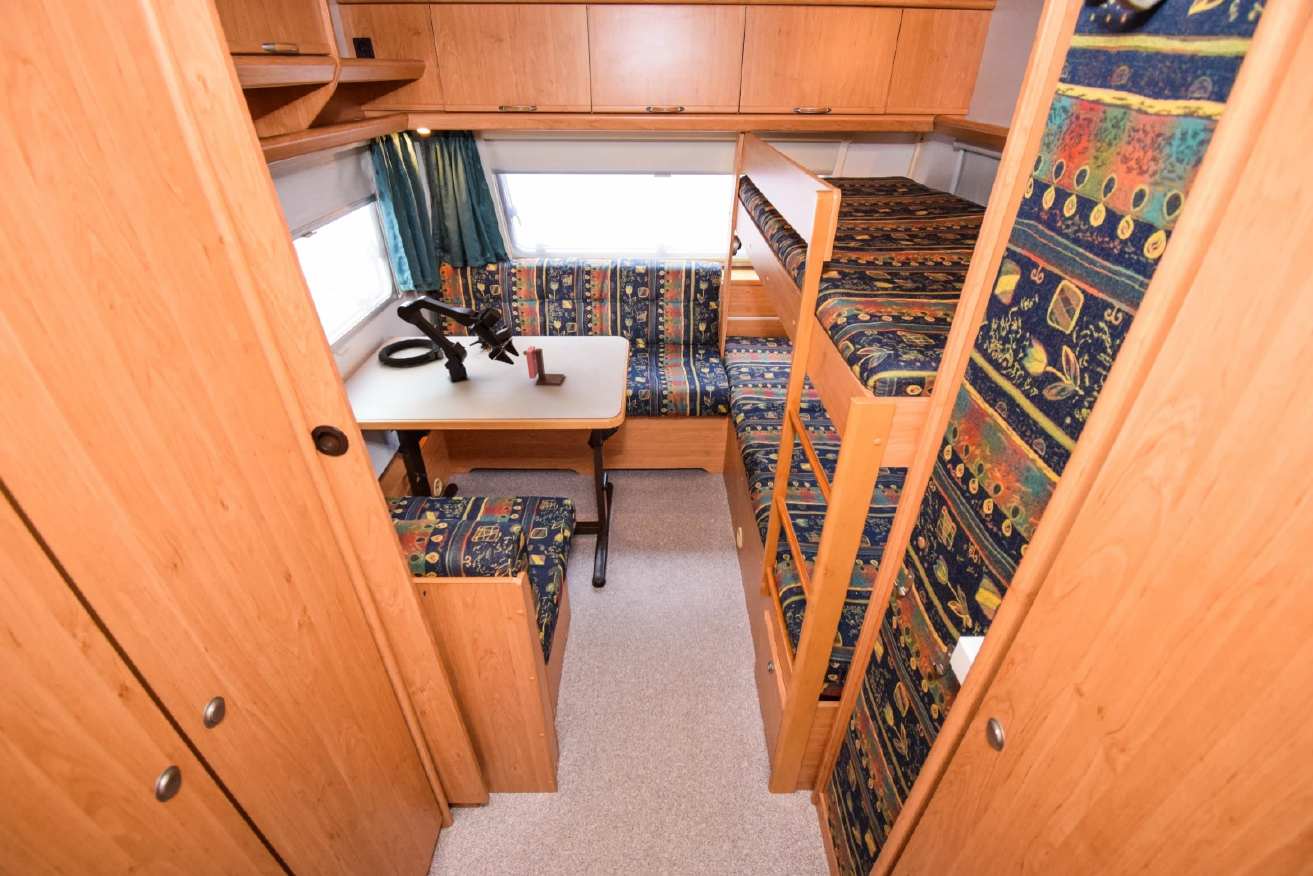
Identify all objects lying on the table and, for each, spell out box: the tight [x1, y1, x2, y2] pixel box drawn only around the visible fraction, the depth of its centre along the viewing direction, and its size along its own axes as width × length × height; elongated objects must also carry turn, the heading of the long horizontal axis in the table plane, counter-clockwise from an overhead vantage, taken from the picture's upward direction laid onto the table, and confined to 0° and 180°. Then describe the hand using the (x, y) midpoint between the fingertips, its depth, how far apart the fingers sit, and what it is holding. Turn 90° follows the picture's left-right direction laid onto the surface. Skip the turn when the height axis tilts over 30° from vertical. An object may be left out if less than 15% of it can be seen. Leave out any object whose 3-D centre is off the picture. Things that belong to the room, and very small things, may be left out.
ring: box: [377, 338, 444, 367], centre depth 273 cm, size 28×4×30 cm
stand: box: [522, 348, 565, 386], centre depth 246 cm, size 15×9×14 cm, turn 86°
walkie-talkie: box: [469, 336, 490, 349], centre depth 281 cm, size 6×6×20 cm
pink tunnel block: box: [525, 345, 538, 379], centre depth 246 cm, size 2×6×12 cm, turn 176°
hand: (516, 359), depth 246 cm, fingers open, 9 cm apart
